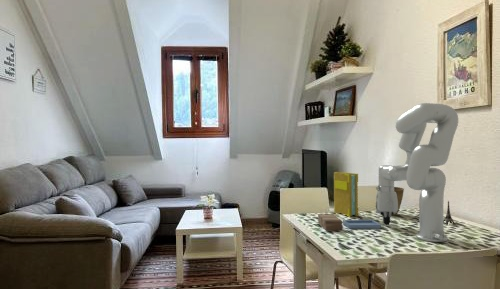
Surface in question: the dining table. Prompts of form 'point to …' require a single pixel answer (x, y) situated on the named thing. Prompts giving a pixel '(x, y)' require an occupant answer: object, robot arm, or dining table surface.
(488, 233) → the dining table surface
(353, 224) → the blue tray
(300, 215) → the dining table surface
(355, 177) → the book
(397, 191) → the plant pot
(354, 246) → the dining table surface
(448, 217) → the eiffel tower figurine
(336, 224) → the brown rectangular block
